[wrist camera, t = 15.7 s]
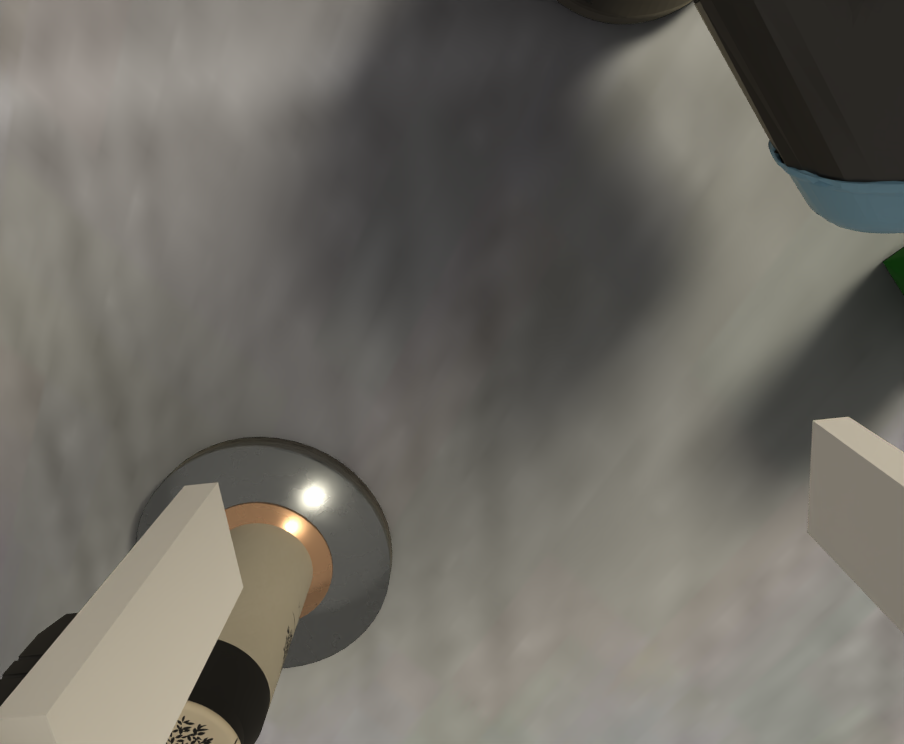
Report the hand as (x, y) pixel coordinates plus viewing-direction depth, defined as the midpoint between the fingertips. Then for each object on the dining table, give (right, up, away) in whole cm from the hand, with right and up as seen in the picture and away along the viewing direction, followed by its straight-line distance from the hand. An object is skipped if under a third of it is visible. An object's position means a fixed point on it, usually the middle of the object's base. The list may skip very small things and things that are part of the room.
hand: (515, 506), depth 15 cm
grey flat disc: (-16, -12, +40) cm, 45 cm away
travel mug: (-16, -12, +38) cm, 43 cm away
